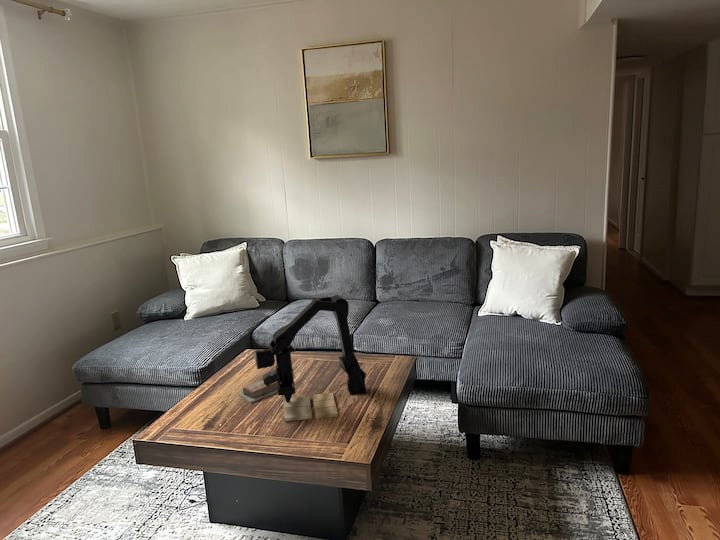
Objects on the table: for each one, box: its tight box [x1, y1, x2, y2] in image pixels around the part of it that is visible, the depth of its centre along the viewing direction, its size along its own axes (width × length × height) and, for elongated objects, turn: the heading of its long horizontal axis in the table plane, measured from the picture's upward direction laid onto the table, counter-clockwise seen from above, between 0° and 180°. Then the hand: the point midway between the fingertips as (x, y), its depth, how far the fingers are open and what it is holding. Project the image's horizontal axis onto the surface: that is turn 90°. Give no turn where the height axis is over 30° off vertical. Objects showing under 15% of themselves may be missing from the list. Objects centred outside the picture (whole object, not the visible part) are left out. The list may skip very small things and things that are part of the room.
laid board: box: [311, 392, 339, 420], centre depth 199 cm, size 8×18×1 cm, turn 9°
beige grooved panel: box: [282, 396, 313, 422], centre depth 198 cm, size 10×16×1 cm, turn 9°
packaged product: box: [238, 379, 278, 404], centre depth 216 cm, size 18×5×10 cm
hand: (288, 402), depth 202 cm, fingers closed, pressing on beige grooved panel
